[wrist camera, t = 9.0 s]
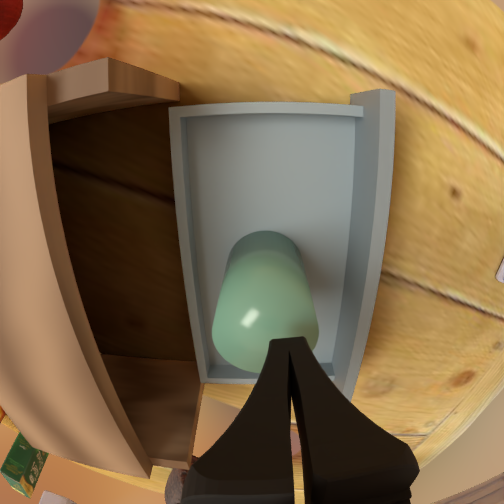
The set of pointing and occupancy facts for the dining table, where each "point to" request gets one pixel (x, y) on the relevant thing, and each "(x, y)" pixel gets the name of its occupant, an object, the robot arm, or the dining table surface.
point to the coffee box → (23, 466)
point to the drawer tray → (287, 211)
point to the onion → (9, 15)
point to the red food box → (1, 414)
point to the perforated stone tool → (176, 484)
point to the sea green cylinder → (262, 300)
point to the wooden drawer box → (76, 296)
